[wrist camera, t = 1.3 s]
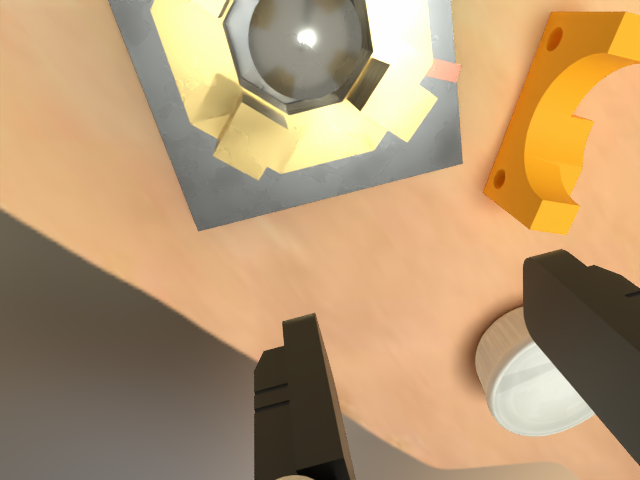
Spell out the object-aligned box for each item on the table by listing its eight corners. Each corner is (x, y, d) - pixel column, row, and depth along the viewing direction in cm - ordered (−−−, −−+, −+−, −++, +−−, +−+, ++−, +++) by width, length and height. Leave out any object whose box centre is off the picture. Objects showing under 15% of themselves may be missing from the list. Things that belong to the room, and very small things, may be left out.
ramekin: (524, 270, 37) (563, 308, 32) (608, 322, 40) (654, 362, 36) (437, 365, 40) (461, 412, 36) (522, 405, 44) (554, 452, 39)
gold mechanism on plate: (60, -144, 22) (-25, -213, 15) (427, -233, 22) (503, -338, 15) (200, 221, 31) (186, 279, 24) (457, 156, 31) (512, 195, 25)
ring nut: (132, -77, 22) (85, -110, 16) (392, -141, 22) (445, -198, 16) (218, 174, 28) (208, 218, 22) (421, 121, 28) (468, 152, 22)
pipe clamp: (533, 200, 34) (590, 238, 28) (481, 191, 33) (529, 229, 27) (608, 27, 29) (696, 30, 23) (549, 11, 28) (625, 11, 22)
